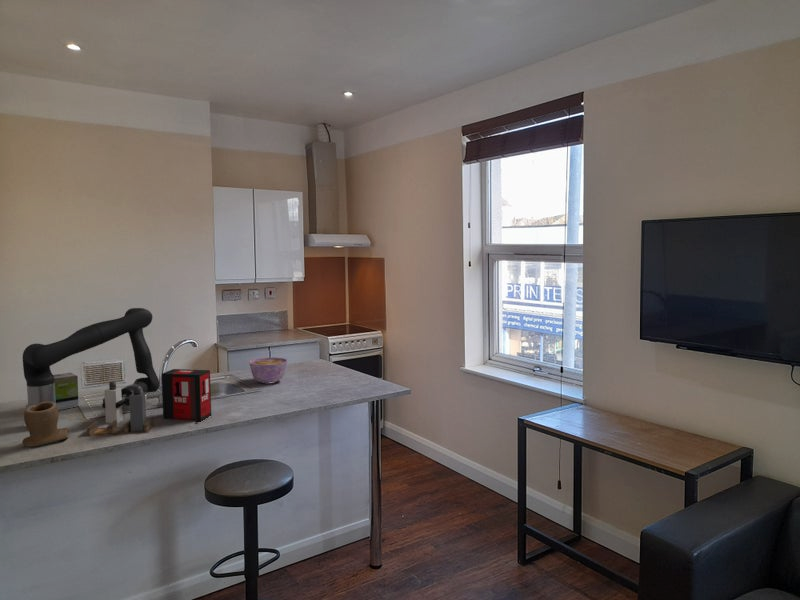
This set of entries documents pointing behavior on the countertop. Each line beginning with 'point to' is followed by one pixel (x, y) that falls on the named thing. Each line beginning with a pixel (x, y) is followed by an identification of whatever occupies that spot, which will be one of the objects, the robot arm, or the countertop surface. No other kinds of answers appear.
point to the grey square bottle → (137, 410)
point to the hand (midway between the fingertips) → (110, 405)
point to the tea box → (66, 390)
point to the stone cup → (43, 424)
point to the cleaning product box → (186, 394)
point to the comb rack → (116, 429)
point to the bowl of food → (268, 369)
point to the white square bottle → (113, 403)
